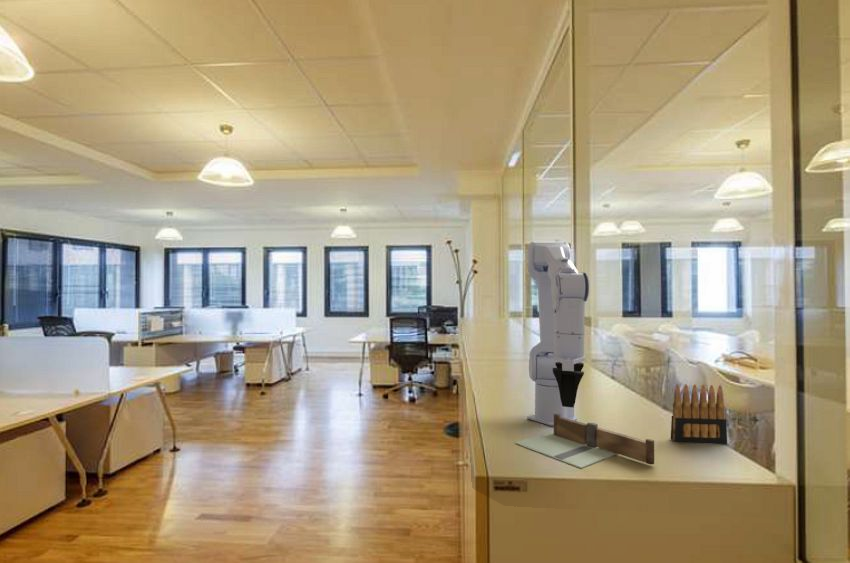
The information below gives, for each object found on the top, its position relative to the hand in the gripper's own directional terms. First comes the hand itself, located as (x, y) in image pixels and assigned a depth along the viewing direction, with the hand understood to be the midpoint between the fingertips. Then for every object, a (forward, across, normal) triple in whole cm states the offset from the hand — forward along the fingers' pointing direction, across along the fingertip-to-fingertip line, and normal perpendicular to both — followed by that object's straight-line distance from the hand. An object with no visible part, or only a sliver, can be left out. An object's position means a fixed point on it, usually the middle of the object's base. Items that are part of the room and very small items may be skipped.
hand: (568, 402), depth 85 cm
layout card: (+9, -1, 0) cm, 9 cm away
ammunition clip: (+9, -15, +26) cm, 31 cm away
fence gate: (+9, +1, +10) cm, 13 cm away
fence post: (+9, -5, +1) cm, 10 cm away
